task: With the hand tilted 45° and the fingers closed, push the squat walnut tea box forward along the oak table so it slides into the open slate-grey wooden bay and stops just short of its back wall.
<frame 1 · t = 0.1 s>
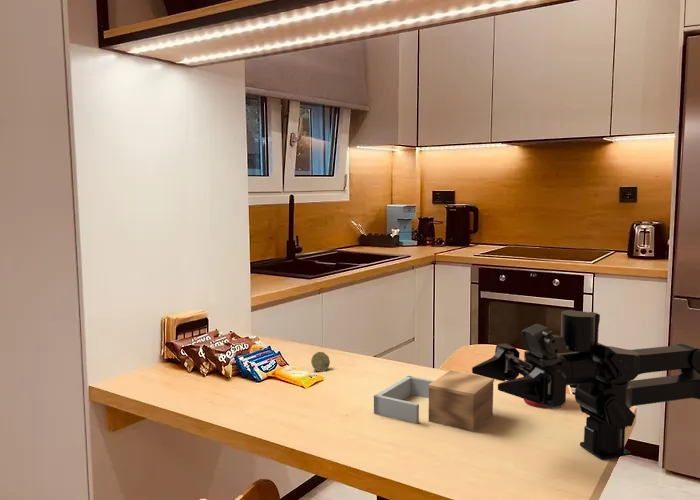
hand: (484, 378, 105), 17 cm above the table, tool horizontal, fingers open, 9 cm apart
olive speckled ball: (319, 370, 163), on the table
canned food: (541, 403, 139), on the table
tea box: (461, 418, 130), on the table
bay: (412, 406, 136), on the table
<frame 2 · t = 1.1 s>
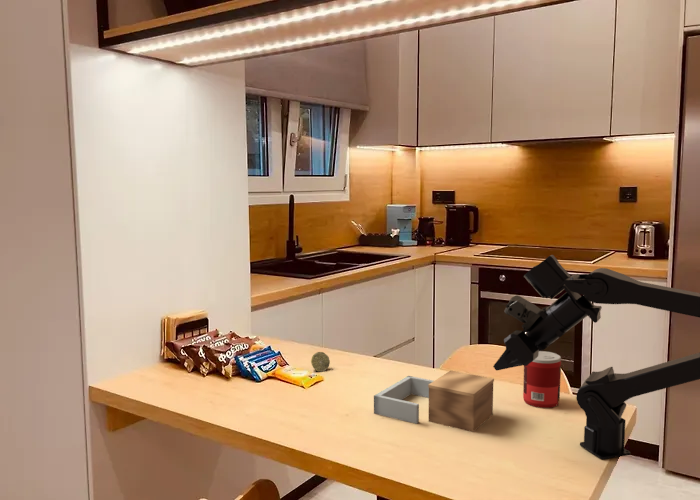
hand: (501, 362, 123), 14 cm above the table, tool tilted 45°, fingers open, 8 cm apart
nothing on the table moved.
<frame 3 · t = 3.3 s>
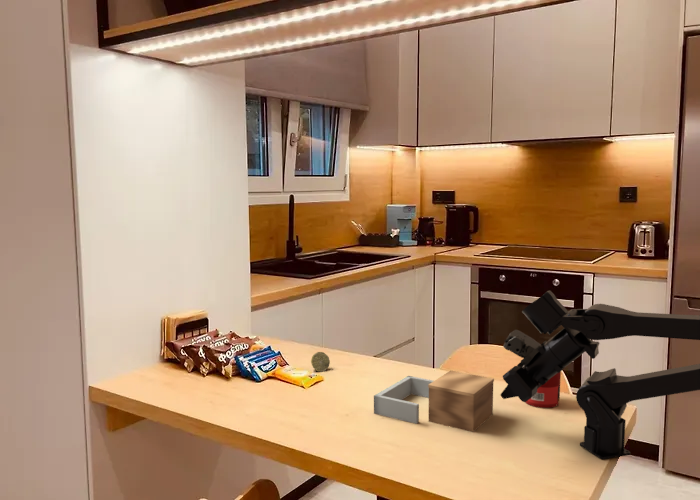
hand: (502, 396, 124), 7 cm above the table, tool tilted 45°, fingers closed
nothing on the table moved.
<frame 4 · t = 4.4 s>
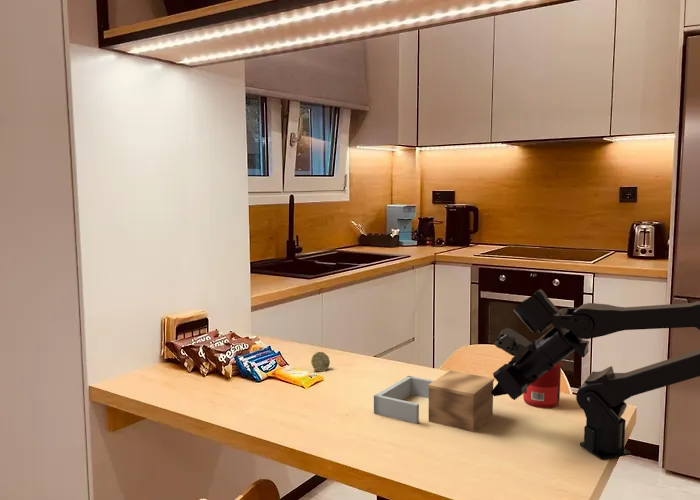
hand: (493, 393, 125), 7 cm above the table, tool tilted 45°, fingers closed
nothing on the table moved.
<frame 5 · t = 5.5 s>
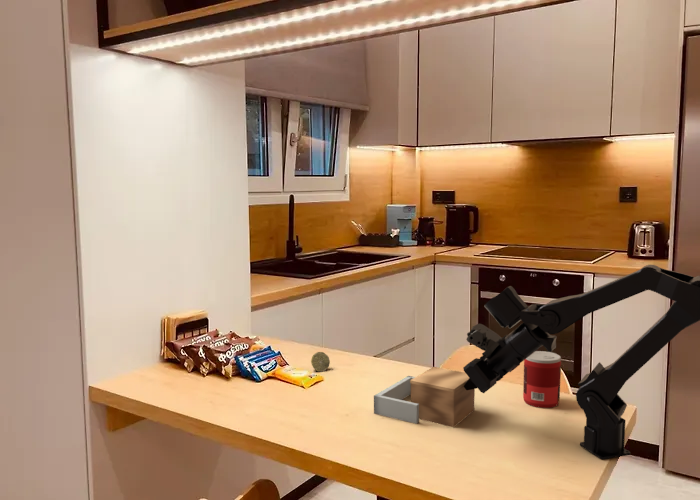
hand: (465, 387, 128), 7 cm above the table, tool tilted 45°, fingers closed, pressing on tea box
tea box: (442, 413, 132), on the table, touching gripper
everything else where it was.
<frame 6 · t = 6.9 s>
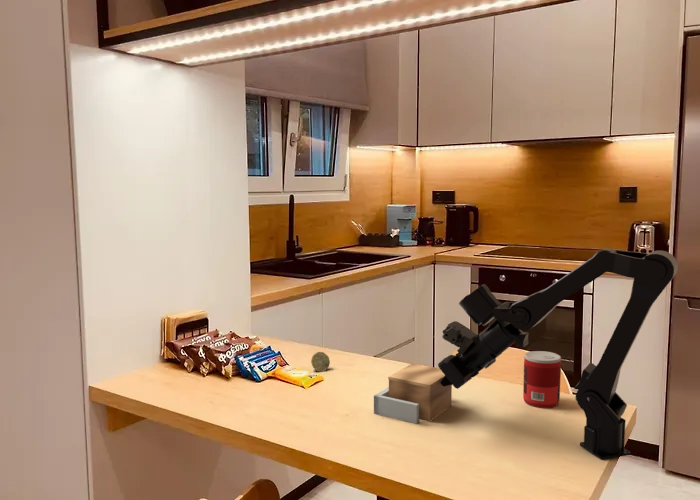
hand: (442, 384, 131), 7 cm above the table, tool tilted 45°, fingers closed
tea box: (420, 409, 135), on the table
everything else where it was.
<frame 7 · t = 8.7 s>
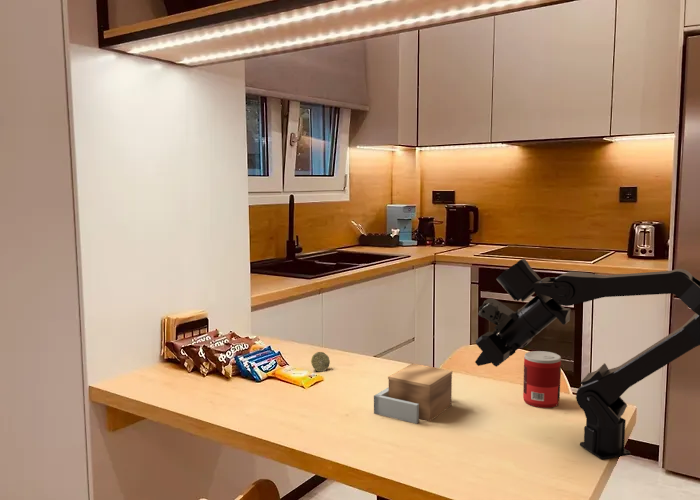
hand: (477, 363, 127), 13 cm above the table, tool tilted 45°, fingers closed
nothing on the table moved.
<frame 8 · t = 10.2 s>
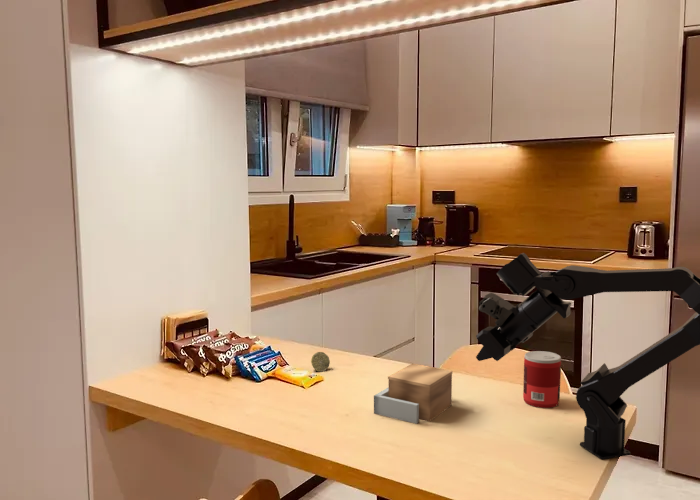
hand: (477, 358, 126), 14 cm above the table, tool tilted 45°, fingers closed
nothing on the table moved.
at the end: tea box 2.0 cm from the bay (horizontally); tea box tilted 0°; tea box moved 9.7 cm from its start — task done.
